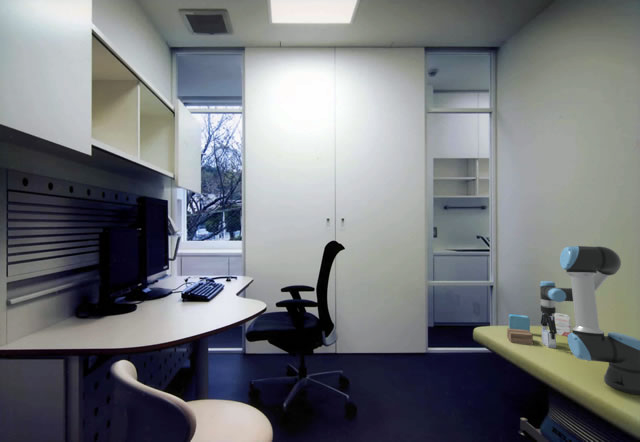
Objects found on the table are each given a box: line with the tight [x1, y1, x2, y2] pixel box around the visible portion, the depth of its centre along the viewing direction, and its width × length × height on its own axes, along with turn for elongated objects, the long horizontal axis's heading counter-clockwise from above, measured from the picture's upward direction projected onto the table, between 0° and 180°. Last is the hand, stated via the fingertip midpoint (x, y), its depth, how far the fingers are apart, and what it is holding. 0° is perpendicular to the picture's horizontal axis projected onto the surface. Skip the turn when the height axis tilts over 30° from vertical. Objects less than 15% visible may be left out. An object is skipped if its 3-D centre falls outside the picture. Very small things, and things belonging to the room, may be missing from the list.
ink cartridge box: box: [553, 312, 572, 337], centre depth 211 cm, size 9×5×15 cm, turn 43°
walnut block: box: [506, 327, 534, 346], centre depth 199 cm, size 10×12×6 cm
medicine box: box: [541, 329, 557, 349], centre depth 191 cm, size 8×4×9 cm, turn 168°
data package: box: [508, 313, 531, 333], centre depth 215 cm, size 12×4×12 cm, turn 60°
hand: (548, 340), depth 191 cm, fingers open, 13 cm apart
